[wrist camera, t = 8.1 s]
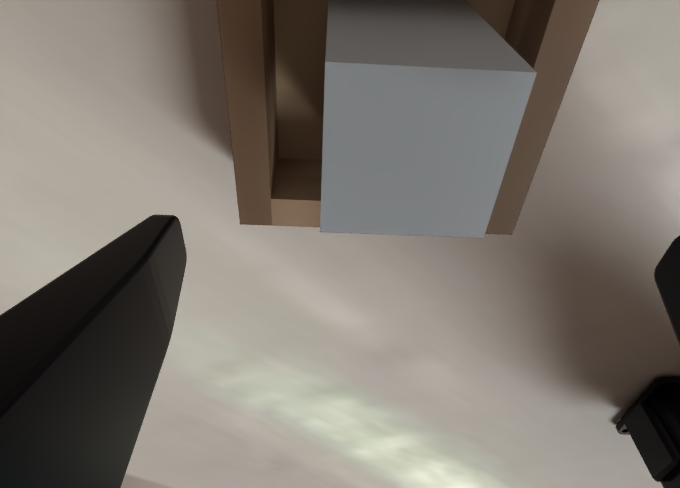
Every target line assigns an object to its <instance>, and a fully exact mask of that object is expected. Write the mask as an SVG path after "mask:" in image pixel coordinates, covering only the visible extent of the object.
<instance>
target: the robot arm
mask: <svg viewBox="0 0 680 488" xmlns="http://www.w3.org/2000/svg"><path fill="white" fill-rule="evenodd" d="M186 257H187V256H186V248H185V244H184V239H183V234H182V229H181V225H180V221H179V219H178V218H177V217H176V216H174V215H152V216H150V217H148V218H147V219H145V220H144V221H142V222H141V223H139V224H138V225H136V226H135V227H133V228H132V229H130V230H129V231H127V232H126V233H124V234H123V235H121V236H120V237H118V238H117V239H115V240H113V241H112V242H110V243H109V244H107V245H106V246H104V247H103V248H101V249H100V250H98V251H97V252H95V253H94V254H92V255H91V256H89V257H88V258H86V259H85V260H83V261H82V262H80V263H79V264H77V265H76V266H74V267H73V268H71V269H70V270H68V271H67V272H65V273H64V274H62V275H61V276H59V277H57V278H56V279H54V280H53V281H51V282H50V283H48V284H47V285H45V286H44V287H42V288H41V289H39V290H38V291H36V292H35V293H33V294H32V295H30V296H29V297H27V298H26V299H24V300H23V301H21V302H20V303H18V304H17V305H15V306H14V307H12V308H11V309H9V310H8V311H6V312H4V313H3V314H1V315H0V488H120V487H121V484H122V481H123V478H124V475H125V473H126V470H127V467H128V464H129V461H130V458H131V455H132V452H133V449H134V446H135V443H136V440H137V437H138V434H139V431H140V428H141V425H142V422H143V419H144V417H145V414H146V411H147V408H148V405H149V402H150V399H151V396H152V393H153V390H154V387H155V384H156V381H157V378H158V375H159V372H160V369H161V366H162V363H163V361H164V358H165V355H166V352H167V348H168V345H169V342H170V339H171V334H172V330H173V326H174V321H175V316H176V311H177V306H178V301H179V296H180V291H181V287H182V282H183V277H184V272H185V267H186ZM654 278H655V282H656V285H657V287H658V290H659V292H660V295H661V298H662V300H663V303H664V306H665V308H666V311H667V313H668V316H669V319H670V321H671V324H672V327H673V329H674V332H675V334H676V337H677V340H678V342H679V345H680V236H678V237H677V238H676V239H675V240H674V241H673V242H672V244H671V245H670V247H669V248H668V250H667V251H666V253H665V254H664V256H663V257H662V259H661V260H660V262H659V263H658V265H657V266H656V268H655V272H654ZM616 429H617V431H618V433H619V434H627V435H631V437H632V439H633V441H634V443H635V445H636V447H637V449H638V451H639V452H640V454H641V456H642V458H643V460H644V462H645V464H646V466H647V468H648V470H649V472H650V474H651V475H652V477H653V478H654V480H655V481H657V482H661V484H662V485H663V487H664V488H680V378H678V377H661V378H658V379H656V380H654V381H653V382H652V384H651V385H650V386H649V387H648V388H647V390H646V391H645V392H644V393H643V394H642V396H641V397H640V398H639V399H638V400H637V401H636V403H635V404H634V405H633V406H632V407H631V409H630V410H629V411H628V412H627V413H626V415H625V416H624V417H623V418H622V419H621V420H620V422H619V423H618V424H617V425H616Z"/></svg>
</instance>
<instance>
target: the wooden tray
mask: <svg viewBox="0 0 680 488" xmlns="http://www.w3.org/2000/svg"><path fill="white" fill-rule="evenodd" d="M465 1H466V2H467V3H468V4H469V5H470V6H471V7H472V8H473V9H474V10H475V11H476V12H477V13H478V14H479V15H480V16H481V17H482V18H483V19H484V20H485V21H486V22H487V23H488V24H489V25H490V26H491V27H492V28H493V29H494V30H495V31H496V32H497V33H498V34H499V35H500V36H501V37H502V38H503V39H504V40H505V41H506V42H507V43H508V44H509V45H510V46H511V47H512V48H513V49H514V50H515V51H516V52H517V53H518V54H519V55H520V56H521V57H522V58H523V59H524V60H525V61H526V62H527V63H528V64H529V65H530V66H531V67H532V68H533V69H534V70H535V71H536V72H537V74H536V77H535V80H534V83H533V86H532V90H531V93H530V96H529V99H528V102H527V105H526V108H525V111H524V114H523V117H522V121H521V124H520V127H519V130H518V133H517V136H516V139H515V142H514V145H513V149H512V152H511V155H510V158H509V161H508V164H507V167H506V170H505V173H504V176H503V180H502V183H501V186H500V189H499V192H498V195H497V198H496V201H495V204H494V207H493V211H492V214H491V217H490V220H489V223H488V226H487V229H486V232H485V234H508V235H512V233H513V230H514V227H515V225H516V222H517V219H518V217H519V214H520V211H521V209H522V206H523V203H524V201H525V198H526V195H527V192H528V190H529V187H530V184H531V182H532V179H533V176H534V174H535V171H536V168H537V166H538V163H539V160H540V158H541V155H542V152H543V150H544V147H545V144H546V142H547V139H548V136H549V134H550V131H551V128H552V125H553V123H554V120H555V117H556V115H557V112H558V109H559V107H560V104H561V101H562V99H563V96H564V93H565V91H566V88H567V85H568V83H569V80H570V77H571V75H572V72H573V69H574V67H575V64H576V61H577V59H578V56H579V53H580V50H581V48H582V45H583V42H584V40H585V37H586V34H587V32H588V29H589V26H590V24H591V21H592V18H593V16H594V13H595V10H596V8H597V5H598V2H599V0H465ZM217 10H218V19H219V29H220V38H221V48H222V57H223V67H224V76H225V86H226V95H227V105H228V114H229V124H230V133H231V142H232V152H233V161H234V171H235V180H236V190H237V199H238V209H239V218H240V224H248V225H274V226H300V227H320V214H321V182H322V149H323V117H324V84H325V56H326V37H327V18H328V0H217Z"/></svg>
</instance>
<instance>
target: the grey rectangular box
mask: <svg viewBox="0 0 680 488" xmlns="http://www.w3.org/2000/svg"><path fill="white" fill-rule="evenodd" d="M536 74H537V72H536V71H535V70H534V69H533V68H532V67H531V66H530V65H529V64H528V63H527V62H526V61H525V60H524V59H523V58H522V57H521V56H520V55H519V54H518V53H517V52H516V51H515V50H514V49H513V48H512V47H511V46H510V45H509V44H508V43H507V42H506V41H505V40H504V39H503V38H502V37H501V36H500V35H499V34H498V33H497V32H496V31H495V30H494V29H493V28H492V27H491V26H490V25H489V24H488V23H487V22H486V21H485V20H484V19H483V18H482V17H481V16H480V15H479V14H478V13H477V12H476V11H475V10H474V9H473V8H472V7H471V6H470V5H469V4H468V3H467V2H466V1H465V0H328V18H327V37H326V56H325V84H324V117H323V149H322V182H321V214H320V232H333V233H360V234H388V235H415V236H443V237H470V238H484V235H485V232H486V229H487V226H488V223H489V220H490V217H491V214H492V211H493V207H494V204H495V201H496V198H497V195H498V192H499V189H500V186H501V183H502V180H503V176H504V173H505V170H506V167H507V164H508V161H509V158H510V155H511V152H512V149H513V145H514V142H515V139H516V136H517V133H518V130H519V127H520V124H521V121H522V117H523V114H524V111H525V108H526V105H527V102H528V99H529V96H530V93H531V90H532V86H533V83H534V80H535V77H536Z"/></svg>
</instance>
